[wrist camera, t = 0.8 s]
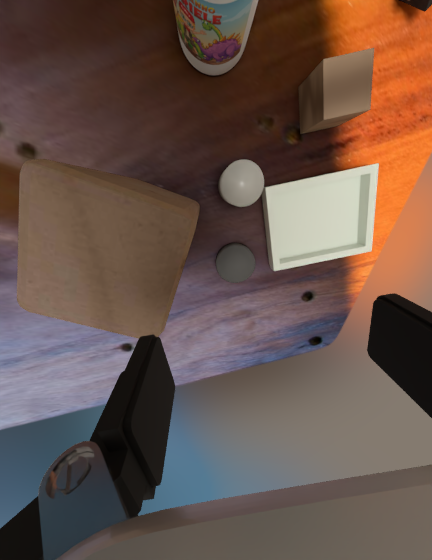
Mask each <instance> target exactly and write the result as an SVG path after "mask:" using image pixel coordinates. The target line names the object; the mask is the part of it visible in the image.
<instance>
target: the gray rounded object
mask: <svg viewBox="0 0 432 560" xmlns="http://www.w3.org/2000/svg"><path fill="white" fill-rule="evenodd" d="M216 267H217V271H218V273H219V275H220V276H221V277H222V278H223V279H224V280H226V281H228V282H232V283H238V282H242V281H244V280H246V279H247V278H249V277H250V276H251V274H252V273H253V271H254V268H255V258H254V255H253V254H252V252H251V251H250V250H249V249H248V248H247V247H246V246H245V245H243V244H240V243H231V244H228V245H226V246H224V247H223V248H222V249H221V250H220V251H219V252H218V254H217V257H216Z"/></svg>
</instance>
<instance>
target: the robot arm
mask: <svg viewBox="0 0 432 560" xmlns="http://www.w3.org/2000/svg"><path fill="white" fill-rule="evenodd" d="M367 351H368V354H369V356H370V358H371V359H372V360H373V361H374V362H375V363H376V364H377V365H378V366H379V367H380V368H381V369H383V371H384V372H385V373H387V374H388V376H389V377H391V378H392V379H393V380H394V381H395V382H396V383H397V384H398V385H399V386H400V387H401V388H402V389H403V390H404V391H405V392H406V393H407V394H408V395H409V396H410V397H411V398H412V399H413V400H414V401H415V402H416V403H417V404H418V405H419V406H420V407H421V408H422V409H423V410H424V411H425V412H426V413H427V414H428V415H429V416H430V417H431V418H432V312H430V311H428V310H426V309H425V308H423V307H421V306H419V305H417V304H415V303H413V302H411V301H409V300H407V299H405V298H403V297H401V296H400V295H397V294H387V295H381V296H379V297H378V298H377V299H376V300H375V301H374V303H373V310H372V318H371V325H370V333H369V341H368V349H367ZM174 392H175V384H174V380H173V377H172V374H171V371H170V367H169V364H168V361H167V358H166V355H165V352H164V349H163V346H162V343H161V340H160V338H159V337H156V336H155V335H154V334H152V335H147V336H141V337H140V338H139V340H138V342H137V344H136V347H135V349H134V351H133V353H132V356H131V358H130V360H129V362H128V365H127V367H126V369H125V371H123V372H122V373H121V374H120V376H119V378H118V380H117V382H116V385H115V387H114V389H113V391H112V393H111V395H110V398H109V400H108V402H107V404H106V406H105V409H104V410H103V413H102V415H101V417H100V419H99V421H98V423H97V426H96V428H95V430H94V432H93V434H92V437H91V439H90V441H83V442H81V443H78V444H75V445H74V446H72V447H71V448H69V449H67V450H66V451H65V452H64V453H62V454H61V455H60V456H59V457H58V458H57V459H56V460H55V461H54V462H53V464H52V465H51V466H50V468H49V469H48V470H47V472H46V473H45V475H44V477H43V479H42V481H41V484H40V487H39V494H38V497H37V498H35V499H34V500H33V501H32V502H31V503H30V504H28V505H27V506H26V507H25V508H24V509H23V510H21V511H20V512H19V513H18V514H17V515H16V516H15V517H13V518H12V519H11V520H10V521H9V522H8V523H6V524H5V525H4V526H3V527H2V528H1V529H0V560H432V465H427V466H421V467H414V468H409V469H402V470H396V471H389V472H383V473H376V474H370V475H364V476H358V477H351V478H345V479H339V480H333V481H326V482H320V483H314V484H308V485H302V486H296V487H290V488H284V489H278V490H272V491H266V492H259V493H254V494H248V495H242V496H235V497H229V498H223V499H218V500H213V501H207V502H202V503H197V504H191V505H186V506H181V507H175V508H170V509H165V510H161V511H157V512H153V513H149V514H145V515H141V516H138V513H139V512H140V511H141V507H142V502H143V500H148V499H154V494H155V488H156V486H158V485H160V483H161V480H162V474H163V467H164V460H165V453H166V447H167V439H168V433H169V426H170V419H171V412H172V406H173V399H174Z"/></svg>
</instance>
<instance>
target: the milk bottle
mask: <svg viewBox="0 0 432 560" xmlns="http://www.w3.org/2000/svg"><path fill="white" fill-rule="evenodd" d="M257 3H258V0H173V4H174V10H175V16H176V22H177V29H178V34H179V39H180V43H181V47H182V49H183V52H184V54H185V56H186V58H187V59H188V61H189V62H190V63H191V64H192V65H193V66H194V67H195V68H196V69H197V70H198V71H200V72H202V73H204V74H207V75H221V74H224V73H226V72H227V71H229V70H230V69H232V68H233V67H234V66H235V65H236V64H237V62H238V61H239V59H240V57H241V56H242V53H243V51H244V48H245V45H246V42H247V39H248V35H249V32H250V28H251V25H252V21H253V18H254V14H255V10H256V7H257Z"/></svg>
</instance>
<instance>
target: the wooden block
mask: <svg viewBox="0 0 432 560" xmlns="http://www.w3.org/2000/svg"><path fill="white" fill-rule="evenodd" d="M199 212H200V205H199V204H198V203H197V202H196V201H195V200H193V199H190V198H187V197H184V196H182V195H179V194H176V193H174V192H171V191H168V190H166V189H163V188H160V187H157V186H155V185H152V184H149V183H147V182H144V181H141V180H139V179H135V178H130V177H125V176H121V175H116V174H111V173H107V172H102V171H98V170H93V169H88V168H84V167H79V166H74V165H70V164H65V163H60V162H56V161H51V160H47V159H36V160H28V161H26V162H24V165H23V167H22V169H21V171H20V190H19V232H18V274H17V301H18V303H19V305H20V307H22V308H23V309H25V310H27V311H28V312H32V313H36V314H40V315H44V316H49V317H53V318H57V319H61V320H65V321H69V322H73V323H77V324H81V325H86V326H90V327H94V328H98V329H102V330H106V331H110V332H114V333H118V334H123V335H127V336H131V337H135V338H140V337H141V336H147V335H152V334H154V335H155V336H156V337H158V336H159V335H160V334H161V333H162V332H163V331H164V328H165V325H166V322H167V318H168V315H169V312H170V309H171V306H172V303H173V299H174V296H175V293H176V290H177V287H178V283H179V280H180V277H181V274H182V271H183V267H184V264H185V261H186V258H187V255H188V252H189V248H190V245H191V242H192V239H193V236H194V232H195V229H196V225H197V220H198V216H199Z"/></svg>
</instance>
